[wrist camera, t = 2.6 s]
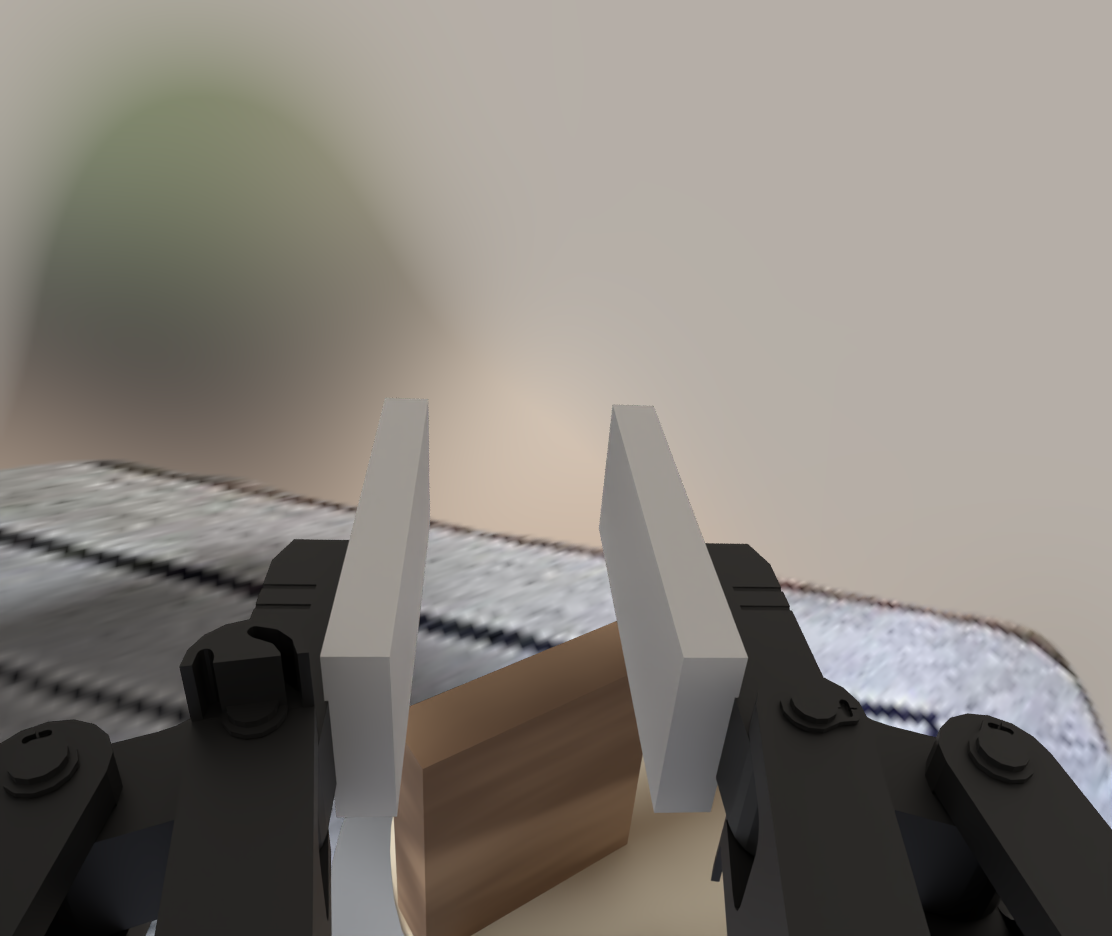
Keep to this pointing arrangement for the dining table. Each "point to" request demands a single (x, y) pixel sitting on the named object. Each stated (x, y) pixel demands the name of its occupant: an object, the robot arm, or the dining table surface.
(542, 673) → the dial
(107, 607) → the dining table surface
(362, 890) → the base
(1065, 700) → the dining table surface
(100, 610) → the dining table surface
